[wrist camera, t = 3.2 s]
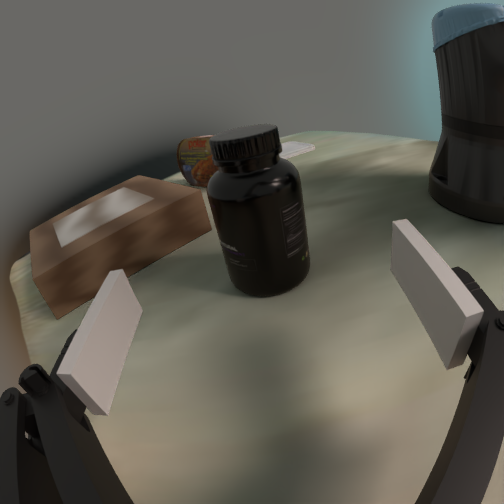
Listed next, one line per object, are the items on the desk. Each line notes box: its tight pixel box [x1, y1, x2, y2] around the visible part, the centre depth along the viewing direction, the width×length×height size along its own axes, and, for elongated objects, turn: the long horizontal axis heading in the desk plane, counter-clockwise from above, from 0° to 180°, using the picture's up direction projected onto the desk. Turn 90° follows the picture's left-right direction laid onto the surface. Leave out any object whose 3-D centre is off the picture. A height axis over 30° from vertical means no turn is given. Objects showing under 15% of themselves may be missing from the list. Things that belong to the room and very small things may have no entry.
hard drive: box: [279, 141, 315, 159], centre depth 59 cm, size 2×8×12 cm
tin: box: [177, 135, 218, 187], centre depth 49 cm, size 15×3×8 cm, turn 46°
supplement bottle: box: [207, 124, 310, 296], centre depth 24 cm, size 7×7×12 cm
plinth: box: [30, 175, 212, 319], centre depth 37 cm, size 20×20×5 cm
